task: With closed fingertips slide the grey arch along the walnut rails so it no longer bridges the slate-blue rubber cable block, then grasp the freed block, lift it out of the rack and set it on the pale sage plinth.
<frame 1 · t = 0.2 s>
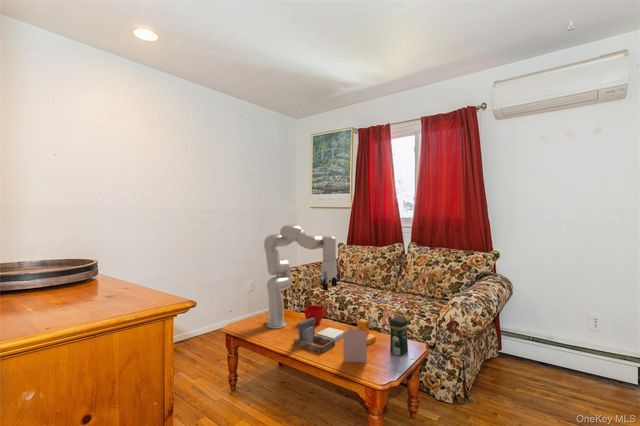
hand: (329, 288, 182), 31 cm above the table, fingers open, 9 cm apart
rack: (314, 344, 179), on the table
cable block: (307, 342, 182), on the table
ceramic cup: (313, 324, 211), on the table
bracket: (365, 342, 182), on the table
coffee jar: (398, 352, 168), on the table
greeting card: (353, 361, 159), on the table
grey arch: (306, 328, 182), point 8 cm above the table, slide at 0.0 cm
plinth: (331, 336, 190), on the table
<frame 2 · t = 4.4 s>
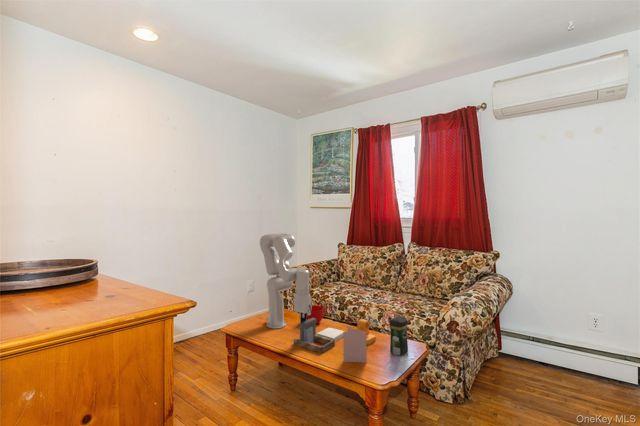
hand: (303, 323, 183), 10 cm above the table, fingers closed
grey arch: (308, 329, 181), point 8 cm above the table, slide at 0.8 cm, touching gripper
everything else where it was.
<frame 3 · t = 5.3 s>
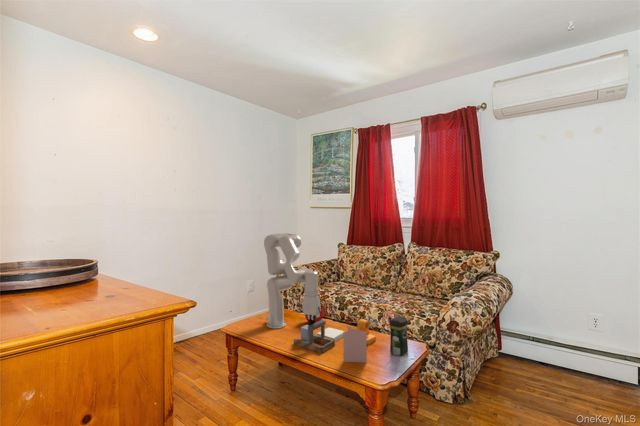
hand: (312, 326, 179), 10 cm above the table, fingers closed
grey arch: (317, 331, 177), point 8 cm above the table, slide at 7.3 cm, touching gripper
everything else where it was.
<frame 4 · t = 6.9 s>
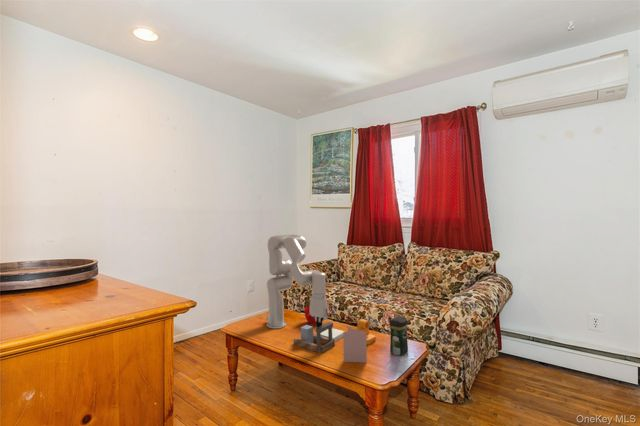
hand: (319, 328, 176), 10 cm above the table, fingers closed
grey arch: (324, 333, 174), point 8 cm above the table, slide at 12.5 cm
everything else where it was.
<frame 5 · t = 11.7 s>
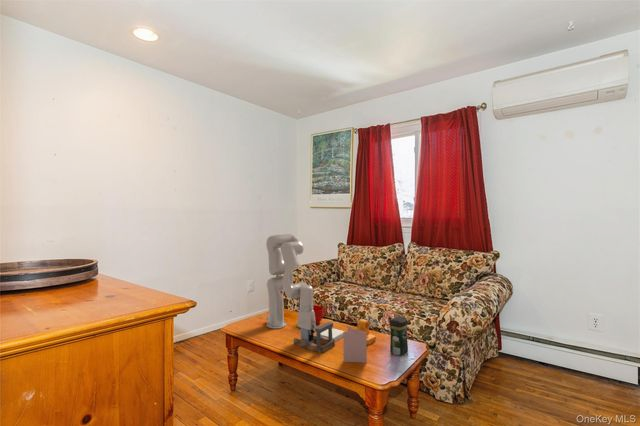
hand: (307, 339, 182), 2 cm above the table, fingers closed on cable block, 5 cm apart
cable block: (307, 342, 182), on the table, touching gripper
everything else where it was.
when the fingers open (6 cm above the table, at t = 17.4 s): cable block drops 1 cm, resting on plinth.
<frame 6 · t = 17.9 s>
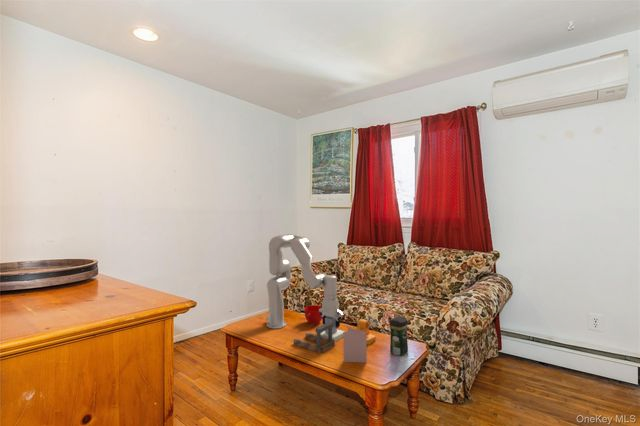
hand: (331, 325, 190), 7 cm above the table, fingers open, 9 cm apart
cable block: (331, 332, 190), point 2 cm above the table, touching plinth
everything else where it was.
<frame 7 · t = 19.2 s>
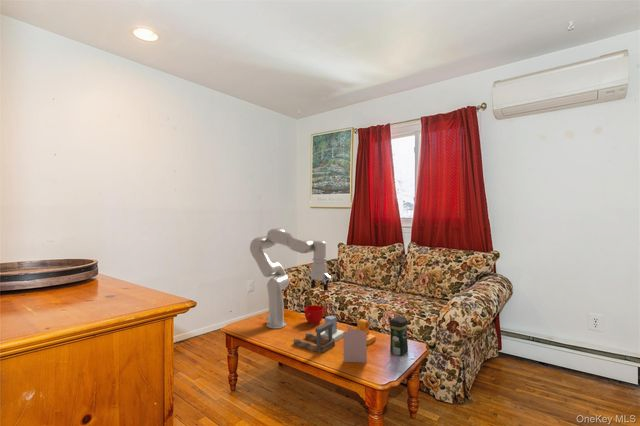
hand: (319, 288, 197), 27 cm above the table, fingers open, 9 cm apart
nothing on the table moved.
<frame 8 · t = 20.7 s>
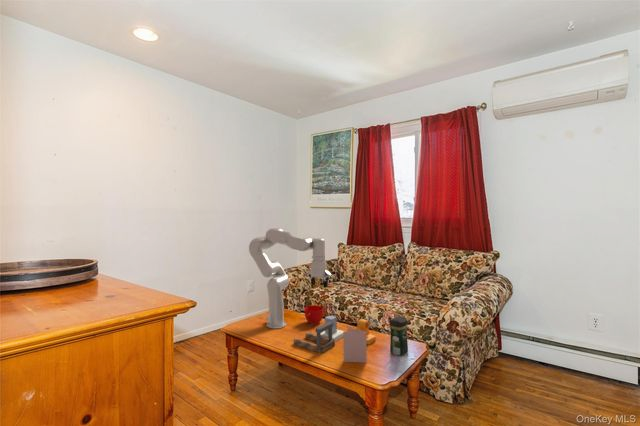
hand: (319, 286, 197), 28 cm above the table, fingers open, 9 cm apart
nothing on the table moved.
at the end: grey arch slide at 12.5 cm; cable block inside the target area on the plinth (0.1 cm from its centre), point 2.5 cm above the plinth's base; the gripper is holding nothing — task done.
